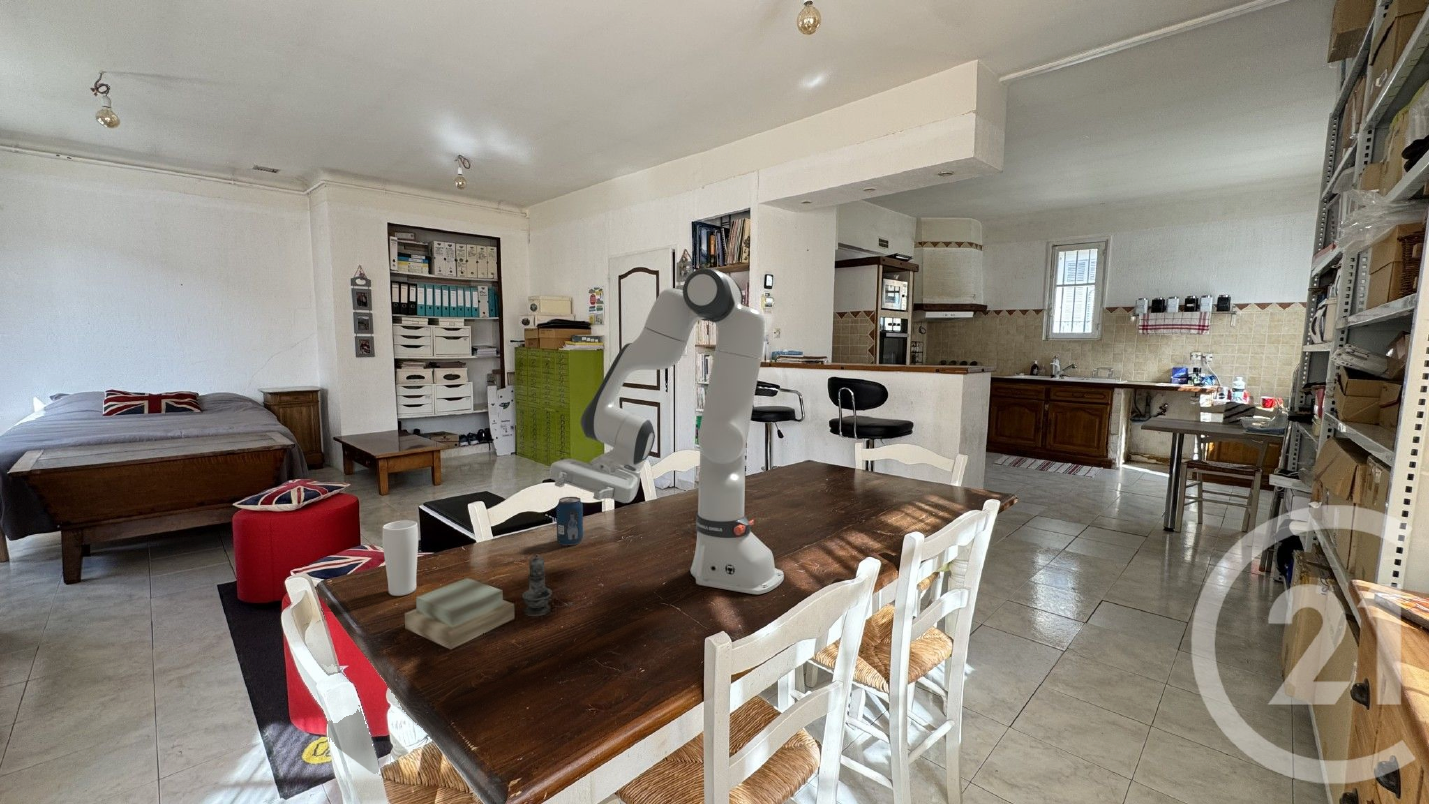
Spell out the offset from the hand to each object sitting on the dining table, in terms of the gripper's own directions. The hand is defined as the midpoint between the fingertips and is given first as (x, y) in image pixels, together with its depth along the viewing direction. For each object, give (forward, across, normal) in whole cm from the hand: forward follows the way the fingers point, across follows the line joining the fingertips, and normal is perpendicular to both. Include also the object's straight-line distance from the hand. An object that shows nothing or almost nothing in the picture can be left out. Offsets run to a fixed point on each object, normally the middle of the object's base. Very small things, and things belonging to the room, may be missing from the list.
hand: (576, 489), depth 125 cm
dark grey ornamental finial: (+11, +1, +23) cm, 26 cm away
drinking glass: (+12, -31, +30) cm, 45 cm away
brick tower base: (+20, -10, +25) cm, 33 cm away
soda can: (-28, -12, +28) cm, 41 cm away
